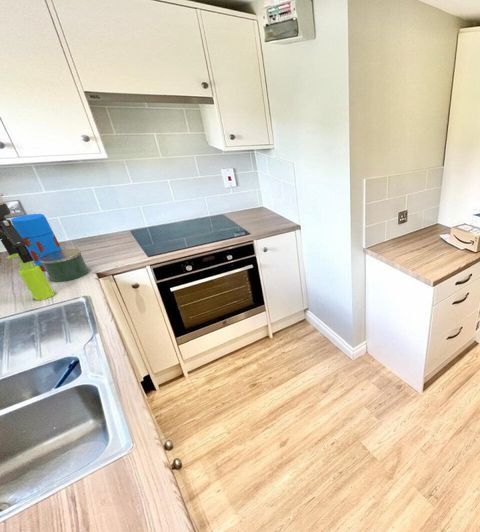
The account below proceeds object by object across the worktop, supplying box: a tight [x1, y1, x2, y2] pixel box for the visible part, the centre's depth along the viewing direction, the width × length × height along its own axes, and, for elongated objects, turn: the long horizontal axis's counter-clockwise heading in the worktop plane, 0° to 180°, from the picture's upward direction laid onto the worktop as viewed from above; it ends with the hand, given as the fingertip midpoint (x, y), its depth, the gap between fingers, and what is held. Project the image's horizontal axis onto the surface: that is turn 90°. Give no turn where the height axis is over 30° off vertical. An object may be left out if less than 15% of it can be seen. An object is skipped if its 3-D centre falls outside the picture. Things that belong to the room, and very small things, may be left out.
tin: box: [39, 248, 90, 283], centre depth 148 cm, size 14×14×10 cm
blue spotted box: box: [10, 213, 63, 272], centre depth 152 cm, size 11×11×25 cm
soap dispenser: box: [5, 253, 55, 301], centre depth 129 cm, size 6×7×20 cm
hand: (21, 257), depth 126 cm, fingers open, 13 cm apart
